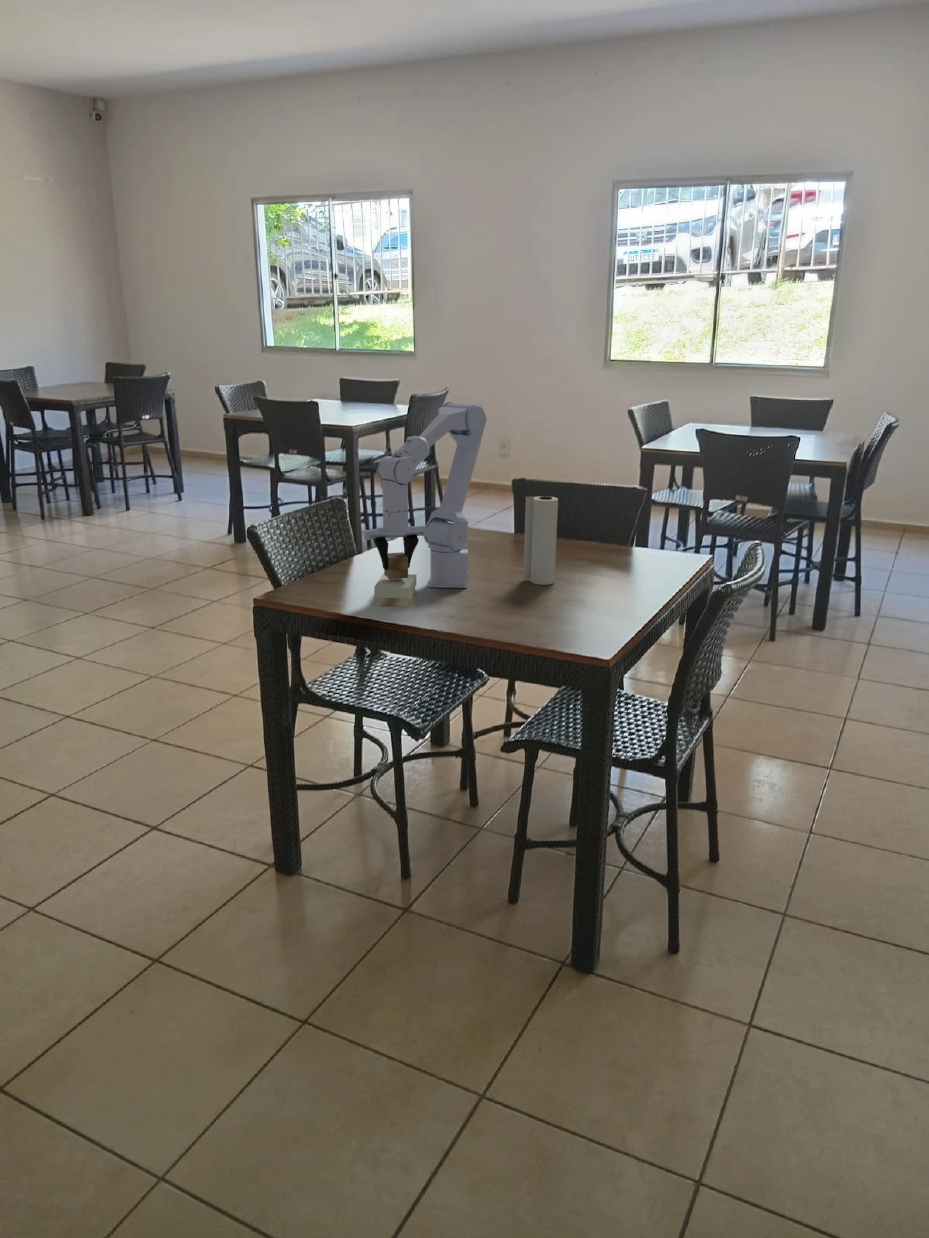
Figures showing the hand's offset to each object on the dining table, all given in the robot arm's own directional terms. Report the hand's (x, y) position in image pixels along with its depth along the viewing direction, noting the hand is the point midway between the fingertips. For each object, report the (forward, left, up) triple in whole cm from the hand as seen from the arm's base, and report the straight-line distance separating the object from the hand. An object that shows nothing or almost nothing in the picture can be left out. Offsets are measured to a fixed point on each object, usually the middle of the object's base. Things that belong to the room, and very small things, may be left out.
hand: (396, 567), depth 213 cm
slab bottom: (0, 0, -8) cm, 8 cm away
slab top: (0, 0, -6) cm, 6 cm away
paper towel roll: (-35, -16, -8) cm, 39 cm away
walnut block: (0, 0, -2) cm, 2 cm away
